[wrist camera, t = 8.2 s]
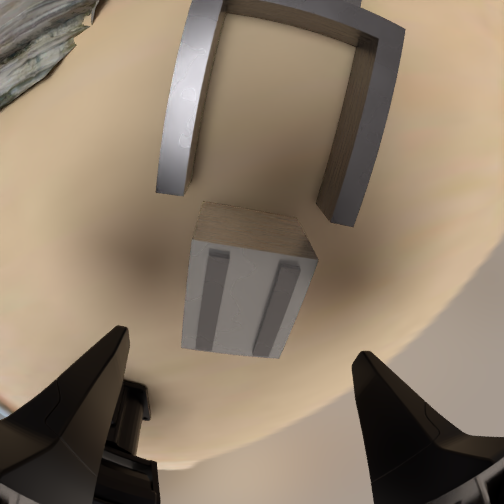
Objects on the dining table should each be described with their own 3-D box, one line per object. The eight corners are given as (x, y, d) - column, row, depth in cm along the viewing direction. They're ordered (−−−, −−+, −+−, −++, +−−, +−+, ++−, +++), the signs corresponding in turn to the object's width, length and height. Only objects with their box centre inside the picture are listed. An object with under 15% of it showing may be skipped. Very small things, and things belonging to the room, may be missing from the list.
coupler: (336, 208, 15) (353, 227, 13) (168, 177, 14) (155, 192, 11) (393, -56, 7) (413, -70, 4) (243, -100, 5) (244, -122, 3)
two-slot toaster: (269, 304, 18) (279, 362, 14) (190, 293, 17) (180, 352, 13) (296, 217, 15) (320, 264, 11) (203, 200, 14) (190, 243, 10)
